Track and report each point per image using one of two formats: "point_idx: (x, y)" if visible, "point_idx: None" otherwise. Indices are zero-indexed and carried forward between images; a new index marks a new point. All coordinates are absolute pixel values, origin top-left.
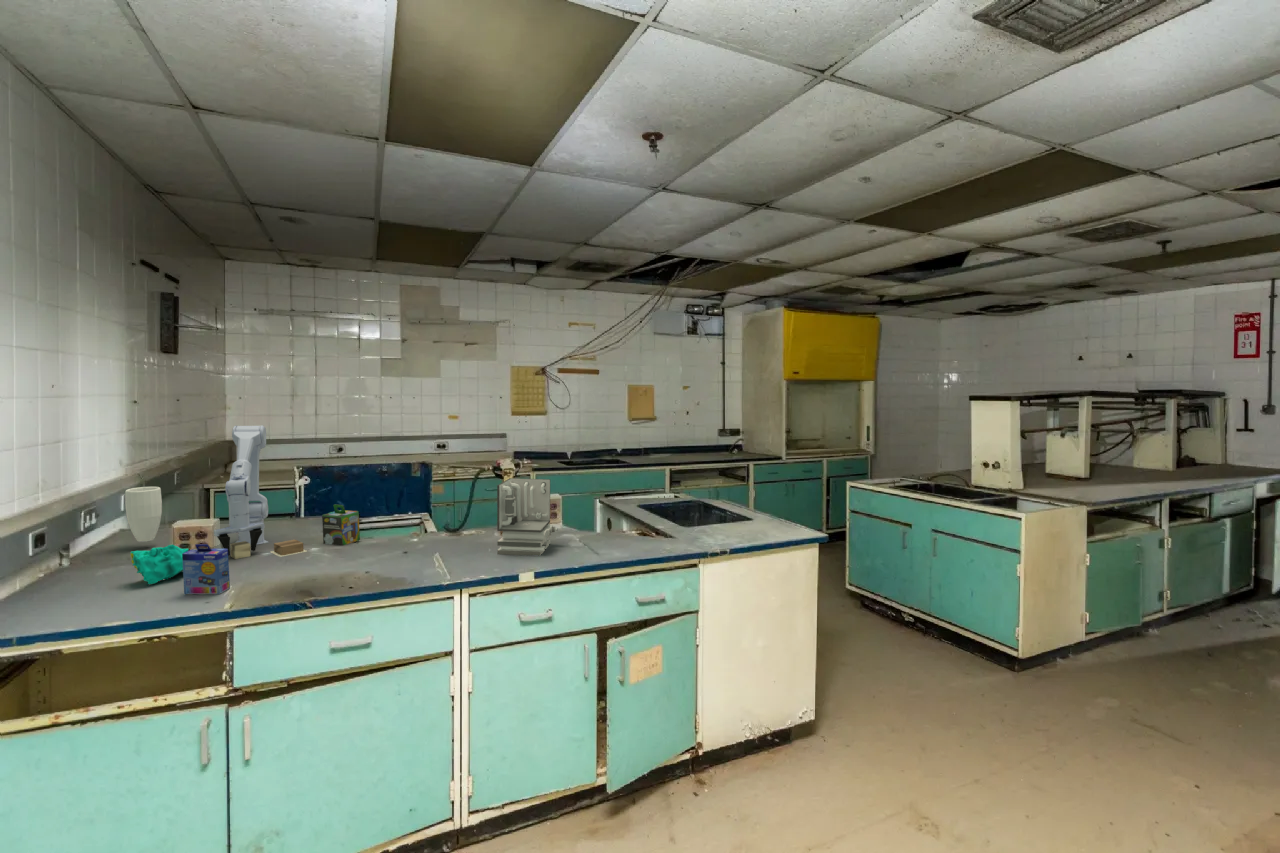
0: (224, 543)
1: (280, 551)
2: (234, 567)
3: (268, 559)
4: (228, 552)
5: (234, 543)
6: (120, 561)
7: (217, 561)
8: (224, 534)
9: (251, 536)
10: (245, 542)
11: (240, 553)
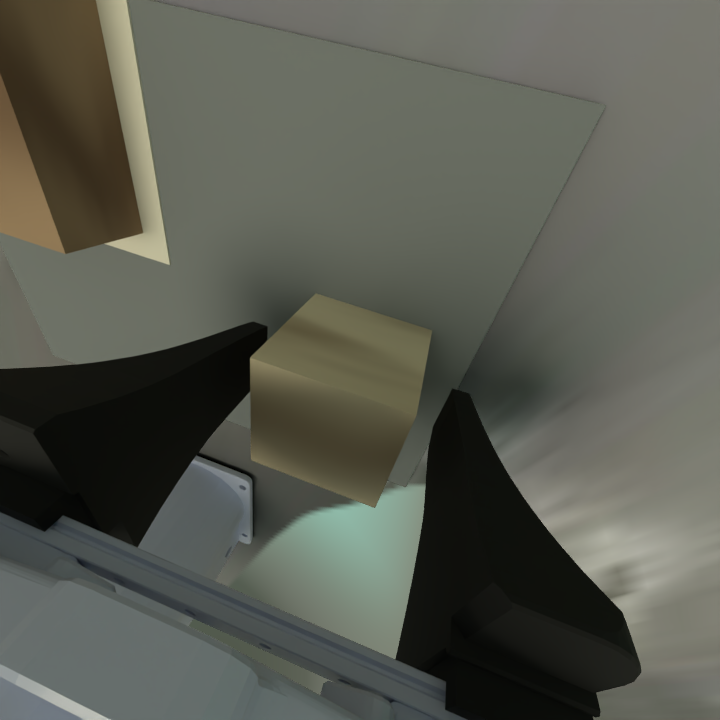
0: (539, 521)
1: (57, 10)
2: (701, 28)
3: (243, 17)
4: (468, 410)
5: (350, 484)
6: (631, 708)
7: None
8: (507, 712)
9: (172, 454)
10: (269, 426)
11: (382, 339)
